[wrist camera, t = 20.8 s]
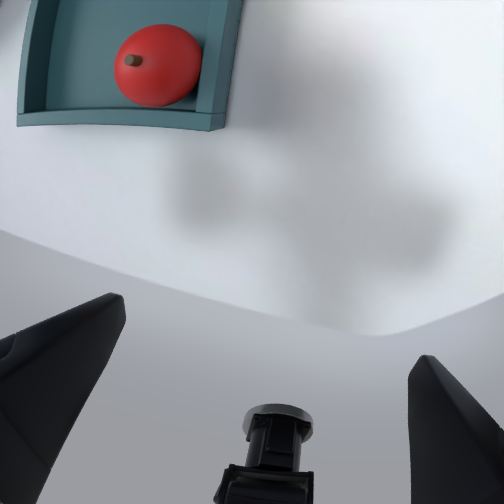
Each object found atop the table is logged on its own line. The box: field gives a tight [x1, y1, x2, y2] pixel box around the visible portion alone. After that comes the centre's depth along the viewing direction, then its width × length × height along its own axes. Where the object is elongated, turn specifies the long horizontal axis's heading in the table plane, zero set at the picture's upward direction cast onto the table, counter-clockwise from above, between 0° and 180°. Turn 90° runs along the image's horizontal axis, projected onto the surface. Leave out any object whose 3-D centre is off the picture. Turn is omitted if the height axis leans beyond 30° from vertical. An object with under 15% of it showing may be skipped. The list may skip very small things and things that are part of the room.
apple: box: [114, 24, 203, 107], centre depth 14 cm, size 5×5×6 cm
